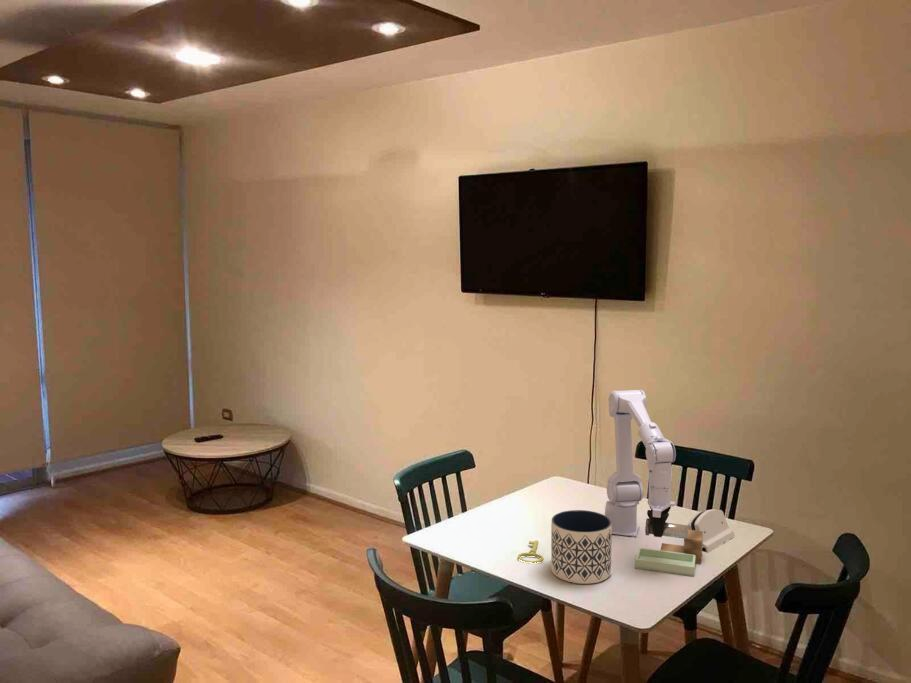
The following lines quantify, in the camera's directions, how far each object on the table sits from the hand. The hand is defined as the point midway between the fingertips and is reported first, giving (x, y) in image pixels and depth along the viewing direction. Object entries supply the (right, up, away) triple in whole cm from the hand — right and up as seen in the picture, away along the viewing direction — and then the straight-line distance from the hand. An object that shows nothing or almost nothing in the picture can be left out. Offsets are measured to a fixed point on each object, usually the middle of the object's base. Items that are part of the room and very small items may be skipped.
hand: (658, 533), depth 198 cm
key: (-34, -9, +9) cm, 36 cm away
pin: (+2, -1, -1) cm, 2 cm away
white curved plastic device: (+20, -7, +17) cm, 27 cm away
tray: (+2, -9, 0) cm, 9 cm away
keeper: (+8, -8, +7) cm, 13 cm away
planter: (-22, -10, -2) cm, 24 cm away
